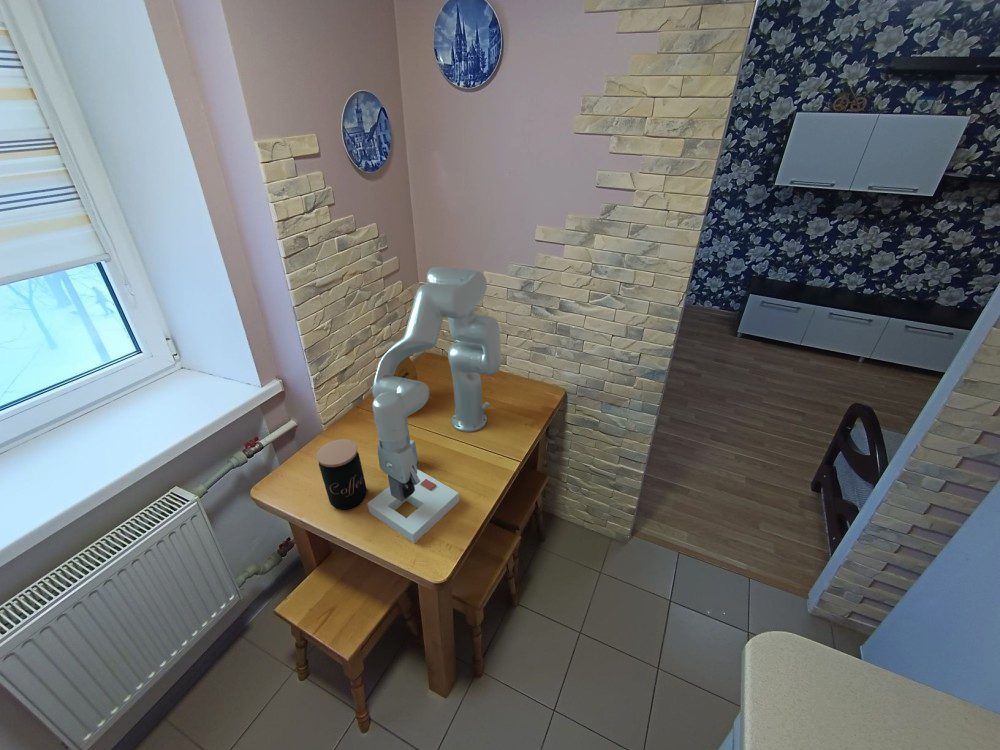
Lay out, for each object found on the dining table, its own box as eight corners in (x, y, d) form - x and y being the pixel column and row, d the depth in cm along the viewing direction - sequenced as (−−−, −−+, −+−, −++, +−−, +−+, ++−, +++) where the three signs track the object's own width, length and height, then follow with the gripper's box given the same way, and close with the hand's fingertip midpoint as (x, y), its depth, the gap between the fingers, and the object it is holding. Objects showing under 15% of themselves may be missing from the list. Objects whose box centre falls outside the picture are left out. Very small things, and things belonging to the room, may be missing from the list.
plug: (404, 484, 127) (401, 463, 123) (415, 490, 125) (412, 469, 121) (391, 495, 124) (387, 474, 120) (401, 501, 122) (397, 480, 118)
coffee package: (384, 414, 169) (374, 363, 157) (402, 397, 178) (394, 347, 167) (407, 420, 165) (399, 368, 154) (424, 402, 175) (418, 352, 164)
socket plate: (415, 475, 141) (413, 465, 139) (459, 501, 132) (458, 491, 130) (369, 512, 129) (366, 502, 127) (414, 543, 120) (412, 533, 118)
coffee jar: (332, 517, 128) (318, 469, 118) (328, 491, 136) (314, 444, 127) (370, 505, 131) (360, 457, 122) (364, 480, 140) (354, 434, 130)
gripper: (360, 434, 116) (372, 486, 126) (406, 460, 108) (415, 514, 117) (383, 419, 121) (392, 470, 131) (428, 443, 113) (435, 496, 122)
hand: (403, 490), depth 124 cm, fingers closed on plug, 4 cm apart
